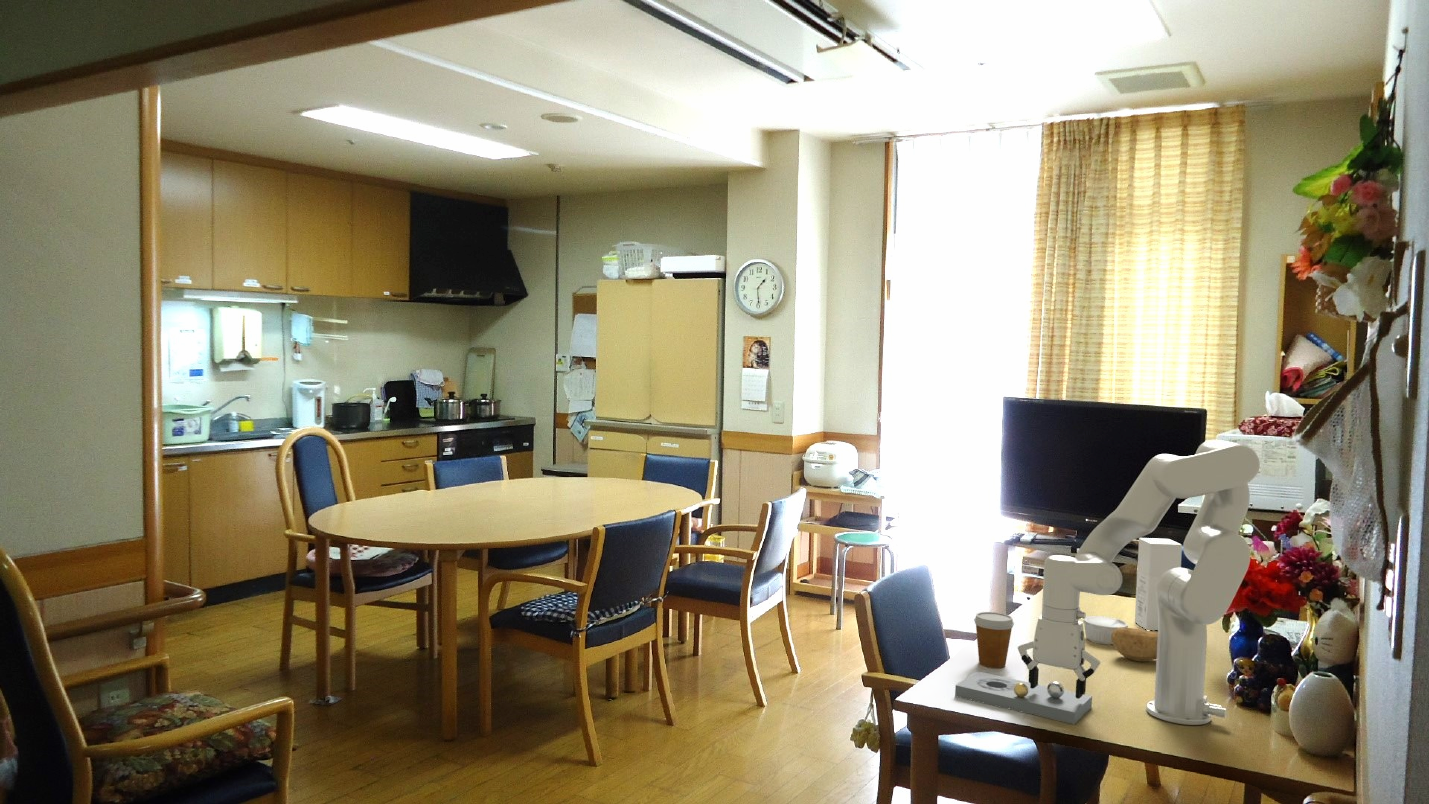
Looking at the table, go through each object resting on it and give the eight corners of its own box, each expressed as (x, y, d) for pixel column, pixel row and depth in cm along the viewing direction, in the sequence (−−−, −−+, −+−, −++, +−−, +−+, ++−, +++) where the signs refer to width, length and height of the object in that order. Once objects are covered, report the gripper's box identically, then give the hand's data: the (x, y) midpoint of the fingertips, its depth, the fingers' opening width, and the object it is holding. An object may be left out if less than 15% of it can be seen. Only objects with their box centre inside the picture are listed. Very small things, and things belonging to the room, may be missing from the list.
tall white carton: (1177, 632, 280) (1182, 544, 279) (1146, 630, 281) (1150, 543, 280) (1165, 623, 289) (1169, 538, 288) (1134, 622, 290) (1138, 537, 288)
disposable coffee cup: (974, 656, 252) (976, 609, 251) (1013, 661, 248) (1015, 614, 248) (970, 667, 243) (972, 618, 242) (1010, 672, 239) (1012, 623, 239)
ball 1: (1029, 696, 215) (1030, 683, 215) (1025, 700, 213) (1025, 686, 212) (1016, 693, 217) (1016, 680, 217) (1011, 697, 214) (1012, 683, 214)
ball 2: (1065, 697, 215) (1066, 681, 215) (1060, 701, 212) (1061, 685, 212) (1049, 693, 217) (1050, 678, 217) (1044, 698, 214) (1045, 682, 214)
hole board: (1091, 707, 217) (1092, 696, 217) (1074, 724, 206) (1074, 712, 206) (976, 681, 232) (977, 671, 232) (955, 696, 221) (955, 685, 221)
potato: (1171, 669, 246) (1173, 637, 245) (1110, 661, 251) (1111, 630, 250) (1169, 658, 255) (1170, 628, 254) (1110, 651, 260) (1111, 621, 259)
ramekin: (1133, 647, 265) (1134, 627, 264) (1091, 645, 265) (1092, 626, 264) (1117, 635, 276) (1118, 616, 276) (1076, 634, 276) (1077, 615, 276)
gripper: (1106, 617, 212) (1102, 696, 213) (1025, 603, 222) (1022, 679, 223) (1097, 624, 206) (1092, 705, 206) (1014, 609, 216) (1011, 687, 217)
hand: (1056, 691), depth 215 cm, fingers open, 9 cm apart
